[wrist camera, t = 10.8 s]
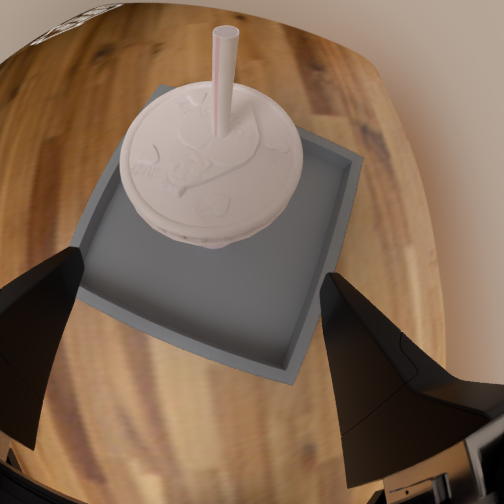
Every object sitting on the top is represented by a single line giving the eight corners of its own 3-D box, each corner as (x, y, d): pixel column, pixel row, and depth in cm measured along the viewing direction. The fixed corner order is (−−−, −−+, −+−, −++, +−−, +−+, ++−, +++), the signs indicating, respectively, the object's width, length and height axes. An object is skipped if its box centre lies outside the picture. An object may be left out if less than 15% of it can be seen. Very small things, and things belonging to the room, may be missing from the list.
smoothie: (280, 211, 19) (394, 57, 5) (225, 290, 17) (248, 272, 4) (204, 160, 19) (197, -26, 5) (147, 232, 17) (16, 100, 4)
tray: (349, 170, 21) (363, 157, 18) (283, 375, 18) (292, 385, 15) (164, 102, 20) (160, 84, 18) (72, 287, 17) (55, 285, 15)
